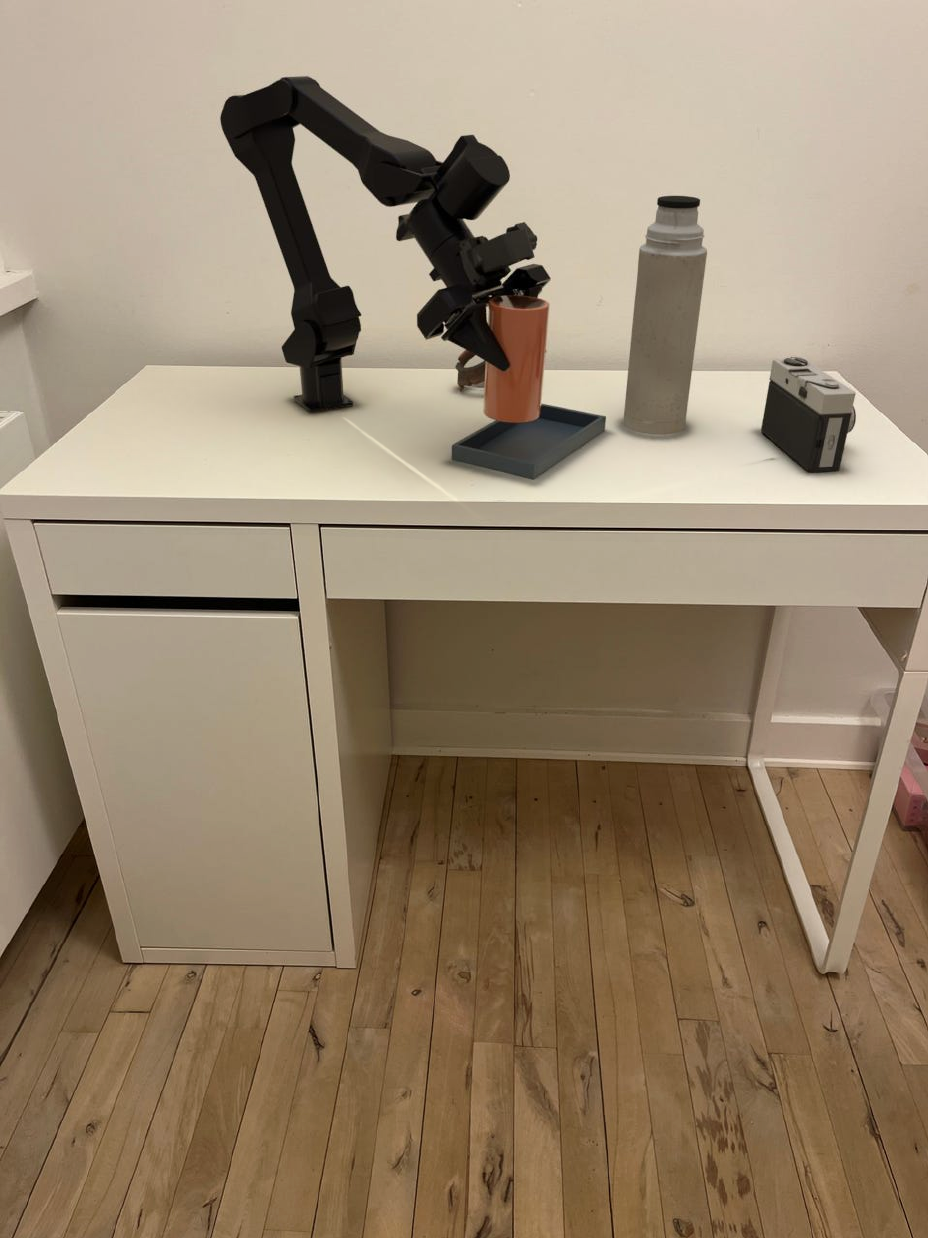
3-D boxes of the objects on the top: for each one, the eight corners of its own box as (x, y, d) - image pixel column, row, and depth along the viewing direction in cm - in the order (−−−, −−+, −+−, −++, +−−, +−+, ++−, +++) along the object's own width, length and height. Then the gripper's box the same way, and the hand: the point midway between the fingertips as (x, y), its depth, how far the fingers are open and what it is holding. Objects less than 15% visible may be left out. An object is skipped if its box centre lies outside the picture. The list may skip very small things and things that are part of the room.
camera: (871, 469, 116) (890, 387, 111) (806, 473, 115) (822, 390, 110) (817, 428, 128) (832, 352, 123) (757, 431, 127) (770, 355, 122)
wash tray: (528, 417, 131) (529, 400, 130) (604, 433, 126) (606, 416, 125) (451, 463, 117) (451, 445, 116) (533, 483, 112) (534, 464, 111)
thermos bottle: (632, 413, 133) (654, 189, 118) (691, 422, 130) (720, 194, 115) (615, 432, 127) (636, 198, 112) (675, 441, 124) (705, 203, 109)
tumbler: (476, 404, 118) (482, 295, 111) (531, 402, 119) (539, 294, 113) (491, 423, 112) (497, 310, 105) (547, 421, 114) (557, 309, 107)
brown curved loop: (531, 404, 137) (505, 357, 132) (472, 428, 141) (444, 383, 136) (533, 358, 146) (509, 312, 141) (477, 382, 149) (451, 338, 144)
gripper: (436, 209, 99) (520, 337, 99) (541, 189, 112) (615, 303, 112) (381, 278, 108) (459, 396, 108) (485, 252, 120) (554, 358, 120)
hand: (525, 361), depth 112 cm, fingers closed on tumbler, 7 cm apart
